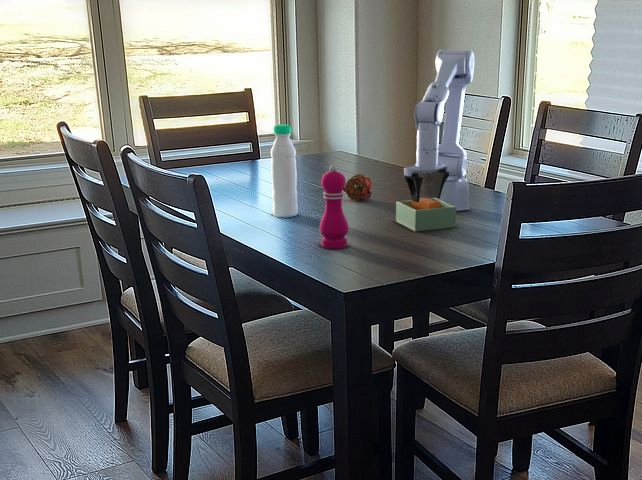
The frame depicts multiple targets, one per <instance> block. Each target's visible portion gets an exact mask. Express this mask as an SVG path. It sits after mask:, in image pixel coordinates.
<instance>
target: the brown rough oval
mask: <svg viewBox="0 0 642 480" xmlns="http://www.w3.org/2000/svg"><path fill="white" fill-rule="evenodd" d="M372 184H373V183H372V180H371V178H370V177H367V176H366V175H365V174H361V173H357V174H355V175H352V176H351V177H350V178H349V179H348V180H347V181H346V185H345V187H344V189H343V190H342V191H343V192H344V193H345V194H346V195H347V197H348V198H349V199H350V200H351V201H353V200H355V201H357V202H362V201H364V199H365V200H368V199H370V198H371V196H372V190H373V185H372Z"/></svg>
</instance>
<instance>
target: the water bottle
mask: <svg viewBox="0 0 642 480" xmlns="http://www.w3.org/2000/svg"><path fill="white" fill-rule="evenodd" d="M273 133H274V136H275V139H274V141H273V143H272V144H273V145H272V147H271V149H270V156H271V165H270V169H271V185H272V193H271V194H272V196H271V197H272V214H273V215H274V216H275V217H277V218H291V217H295V216H297V215H298V214H299V205H298V190H297V187H298V186H297V185H298V171H297V159H296V156H297V150H296V147H295V146H294V144H293V141H292V140H291V135H292V126H291V125H290V124H287V123H286V124H275V125H274V126H273Z"/></svg>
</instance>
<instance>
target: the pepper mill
mask: <svg viewBox="0 0 642 480" xmlns="http://www.w3.org/2000/svg"><path fill="white" fill-rule="evenodd" d="M337 170H338V166H337V165H336V164H331V165H330V166H329V171H327V172H325V173H324V174H323V175H322V177H321V181H320V184H321V187H322V189H323V190H324V191H323V192H322V193H323V199H324V200H325V210H324V213H323V215H322V218H321V220H320V223H319V233H320V234H321V236H323V237H322V238H321V247H322V248H325V249H330V250H338V249H339V250H340V249H344V248H346V247H347V246H348V240H347V237H346V235H347V234H348V233H349V230H350V229H349V223H348V219H347V218H346V216H345V213H344V211H343V199H344V197H345V196H344V194H345V192H344V191H343V189H344V187H345V185H346V183H347V181H346V177H345V175H344V174H343V173H342V172H340V171H337Z"/></svg>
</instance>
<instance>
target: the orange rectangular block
mask: <svg viewBox="0 0 642 480" xmlns="http://www.w3.org/2000/svg"><path fill="white" fill-rule="evenodd" d="M412 208H413V209H415V210H424V209H434V208H440V202H439V201H435V200H431V199H429V198H427V197H420V199H419V202H413V201H412Z"/></svg>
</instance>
